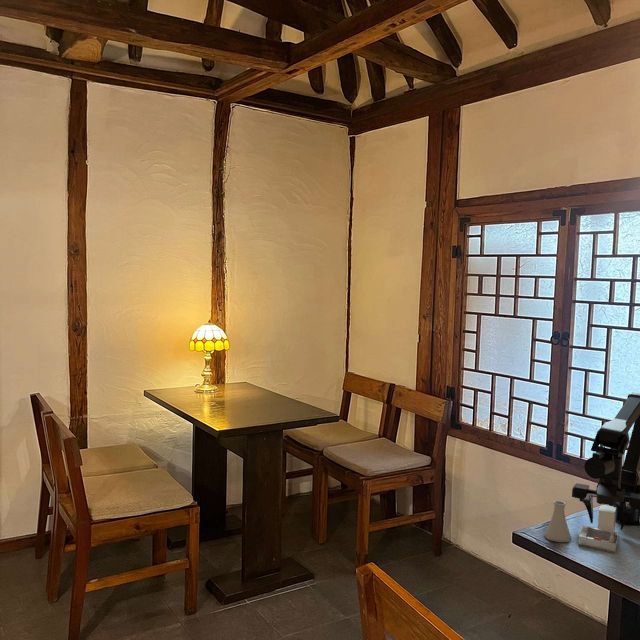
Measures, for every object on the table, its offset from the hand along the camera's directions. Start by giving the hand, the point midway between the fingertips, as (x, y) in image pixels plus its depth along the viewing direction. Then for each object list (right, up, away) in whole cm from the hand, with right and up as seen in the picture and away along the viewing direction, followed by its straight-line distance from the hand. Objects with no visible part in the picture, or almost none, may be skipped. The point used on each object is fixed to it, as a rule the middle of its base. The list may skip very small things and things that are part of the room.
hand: (606, 526), depth 182 cm
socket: (-6, -2, -7) cm, 10 cm away
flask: (-16, -2, -4) cm, 16 cm away
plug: (0, -2, 0) cm, 2 cm away
